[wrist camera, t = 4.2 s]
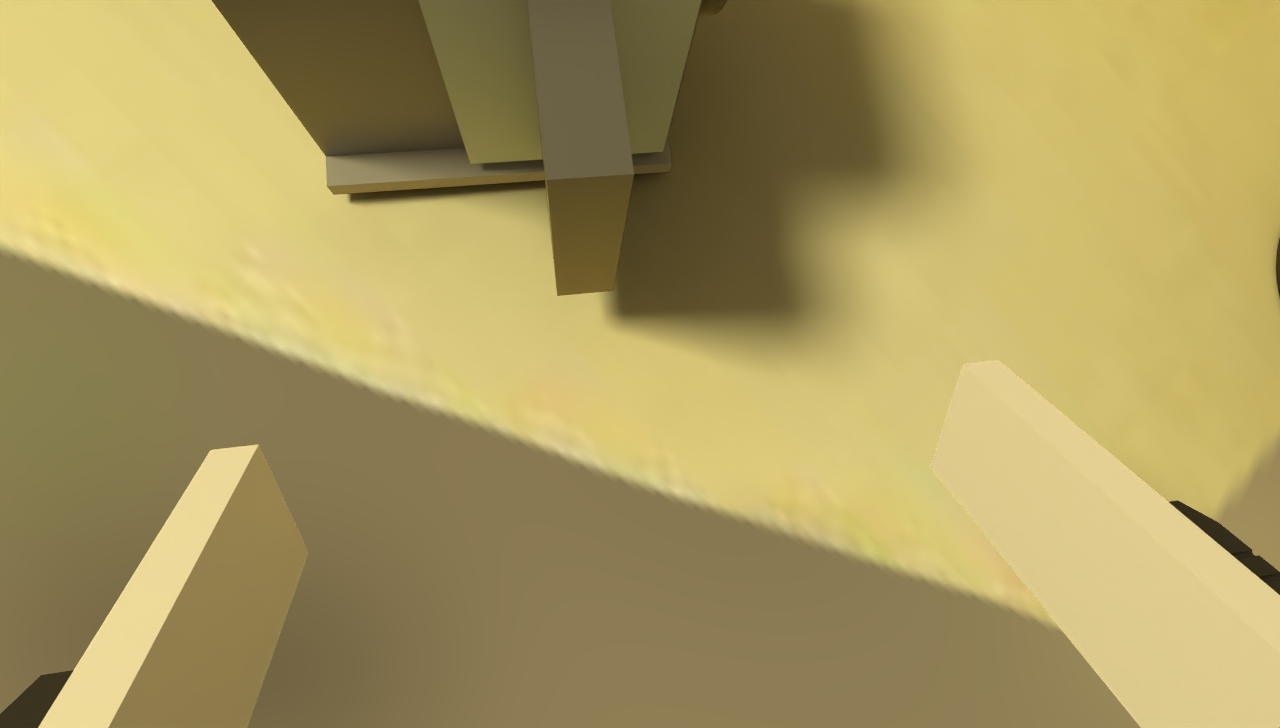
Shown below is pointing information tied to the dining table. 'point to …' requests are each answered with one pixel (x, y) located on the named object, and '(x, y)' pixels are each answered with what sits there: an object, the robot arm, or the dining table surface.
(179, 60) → the dining table surface
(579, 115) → the door
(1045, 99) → the dining table surface
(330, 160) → the camera box
